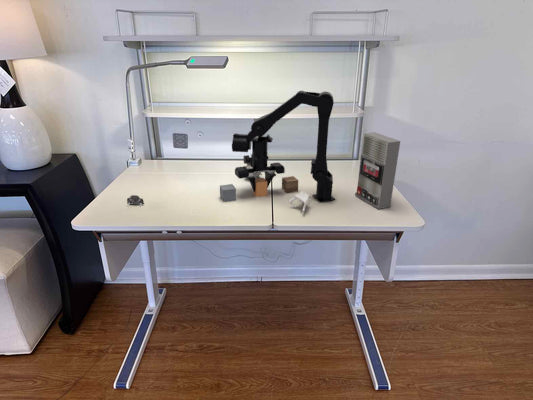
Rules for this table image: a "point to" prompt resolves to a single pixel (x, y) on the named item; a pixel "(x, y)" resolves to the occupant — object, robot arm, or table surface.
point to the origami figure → (301, 199)
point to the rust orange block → (260, 187)
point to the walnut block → (290, 184)
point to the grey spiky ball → (253, 173)
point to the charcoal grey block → (227, 193)
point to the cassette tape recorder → (377, 169)
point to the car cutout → (135, 200)
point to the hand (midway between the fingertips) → (259, 190)
